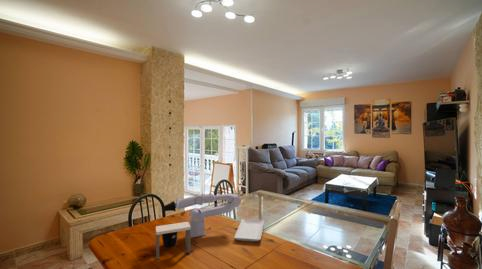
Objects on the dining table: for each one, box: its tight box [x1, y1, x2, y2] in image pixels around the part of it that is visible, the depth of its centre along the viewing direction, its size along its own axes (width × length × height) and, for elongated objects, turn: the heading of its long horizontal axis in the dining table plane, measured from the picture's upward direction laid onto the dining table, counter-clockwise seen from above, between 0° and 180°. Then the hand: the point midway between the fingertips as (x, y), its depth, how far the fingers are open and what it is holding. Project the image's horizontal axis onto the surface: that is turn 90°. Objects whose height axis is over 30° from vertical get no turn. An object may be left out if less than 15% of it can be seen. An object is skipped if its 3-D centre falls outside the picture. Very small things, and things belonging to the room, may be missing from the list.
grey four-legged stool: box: [155, 221, 192, 260], centre depth 127 cm, size 18×8×14 cm, turn 113°
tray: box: [233, 218, 265, 243], centre depth 153 cm, size 17×31×4 cm, turn 170°
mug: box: [161, 231, 179, 248], centre depth 137 cm, size 12×9×10 cm
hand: (163, 208), depth 142 cm, fingers open, 7 cm apart
